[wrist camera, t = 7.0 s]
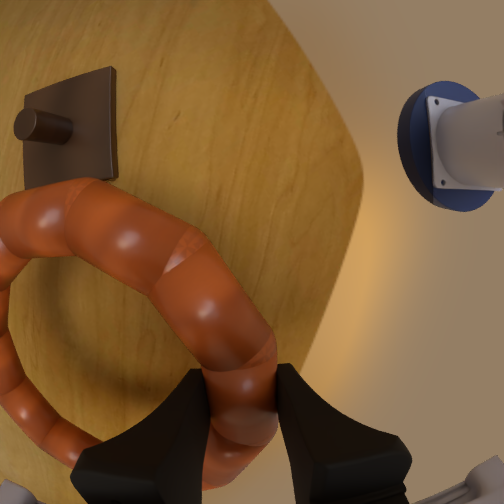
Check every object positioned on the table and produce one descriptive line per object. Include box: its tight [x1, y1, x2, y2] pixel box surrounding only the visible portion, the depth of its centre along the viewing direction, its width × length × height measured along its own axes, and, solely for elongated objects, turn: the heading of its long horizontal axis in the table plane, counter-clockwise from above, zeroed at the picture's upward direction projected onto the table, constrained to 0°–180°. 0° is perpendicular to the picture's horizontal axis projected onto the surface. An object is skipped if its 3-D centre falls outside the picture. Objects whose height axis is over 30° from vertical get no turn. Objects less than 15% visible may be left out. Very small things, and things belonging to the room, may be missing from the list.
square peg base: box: [14, 66, 118, 190], centre depth 15 cm, size 8×8×6 cm
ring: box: [0, 177, 278, 491], centre depth 12 cm, size 18×18×3 cm
